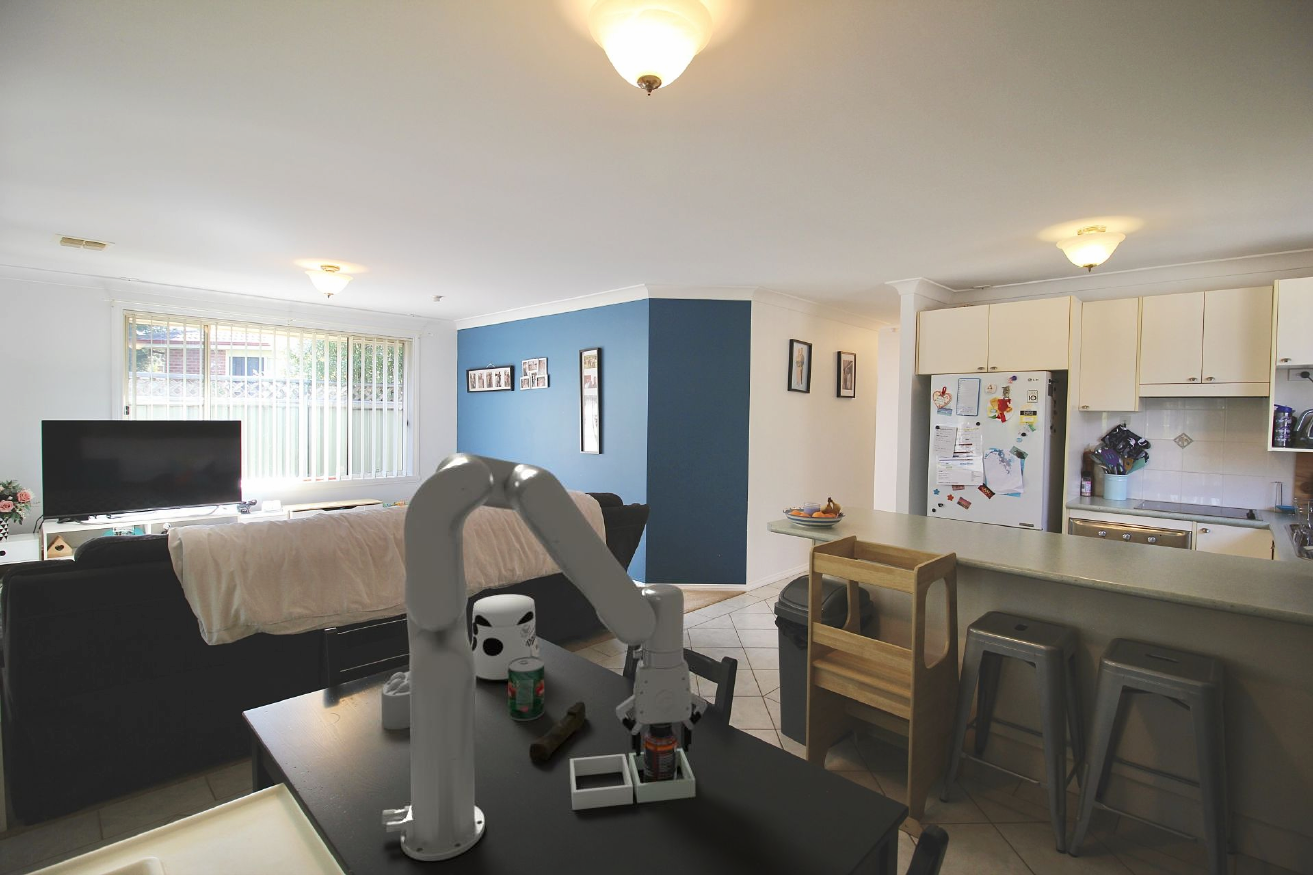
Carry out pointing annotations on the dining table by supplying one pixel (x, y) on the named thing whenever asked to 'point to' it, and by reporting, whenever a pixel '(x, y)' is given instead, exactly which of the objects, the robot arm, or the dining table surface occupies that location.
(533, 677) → the canned tomato
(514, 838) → the dining table surface
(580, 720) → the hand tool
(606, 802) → the grey bin
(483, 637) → the milk container
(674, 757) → the supplement bottle
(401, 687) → the lumpy-topped squat cylinder
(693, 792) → the sage bin
